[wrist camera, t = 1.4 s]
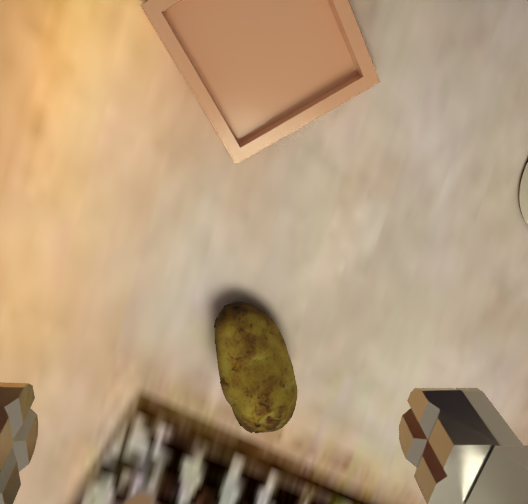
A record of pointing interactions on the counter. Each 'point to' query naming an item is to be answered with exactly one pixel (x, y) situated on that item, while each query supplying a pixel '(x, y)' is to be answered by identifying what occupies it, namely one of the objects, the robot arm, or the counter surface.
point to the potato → (254, 368)
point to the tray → (264, 62)
